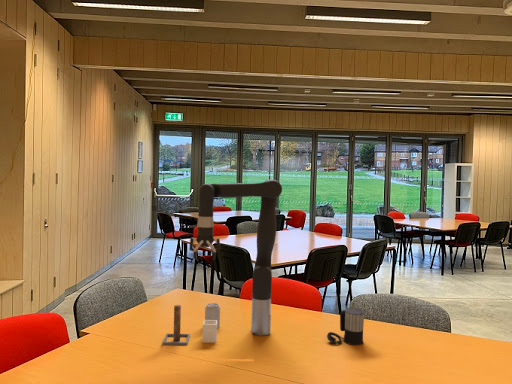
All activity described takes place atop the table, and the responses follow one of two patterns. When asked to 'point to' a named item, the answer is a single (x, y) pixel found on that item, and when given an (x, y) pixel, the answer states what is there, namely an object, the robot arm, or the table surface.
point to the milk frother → (350, 327)
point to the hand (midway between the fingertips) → (204, 259)
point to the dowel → (177, 322)
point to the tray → (176, 342)
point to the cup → (209, 331)
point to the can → (213, 313)
